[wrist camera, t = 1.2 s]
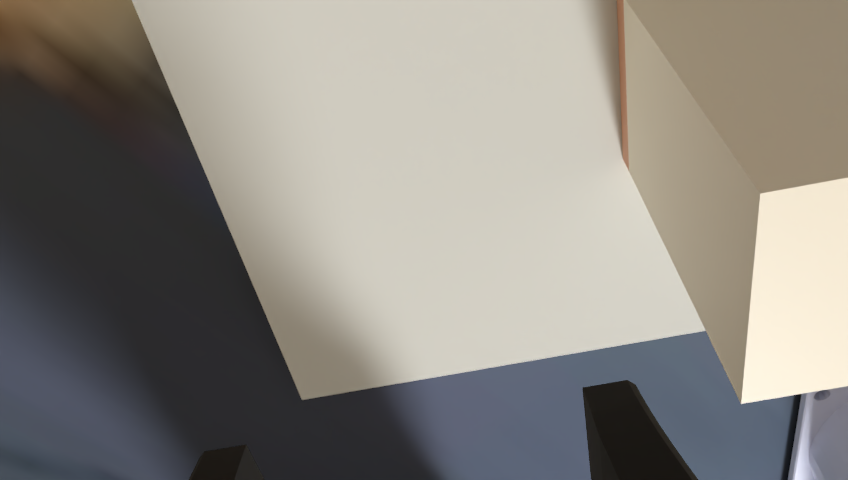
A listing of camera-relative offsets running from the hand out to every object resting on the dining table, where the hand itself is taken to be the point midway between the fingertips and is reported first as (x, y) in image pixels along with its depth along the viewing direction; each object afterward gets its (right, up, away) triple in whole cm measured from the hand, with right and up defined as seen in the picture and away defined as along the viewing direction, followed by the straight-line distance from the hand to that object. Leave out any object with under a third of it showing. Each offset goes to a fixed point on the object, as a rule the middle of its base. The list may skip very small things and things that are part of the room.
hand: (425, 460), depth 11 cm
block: (+7, +7, +7) cm, 12 cm away
